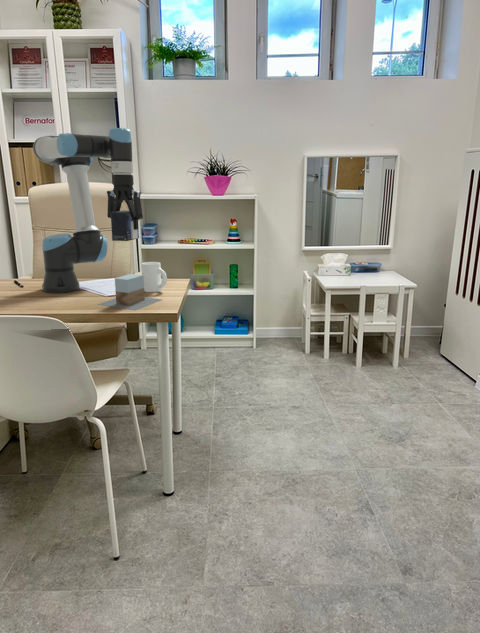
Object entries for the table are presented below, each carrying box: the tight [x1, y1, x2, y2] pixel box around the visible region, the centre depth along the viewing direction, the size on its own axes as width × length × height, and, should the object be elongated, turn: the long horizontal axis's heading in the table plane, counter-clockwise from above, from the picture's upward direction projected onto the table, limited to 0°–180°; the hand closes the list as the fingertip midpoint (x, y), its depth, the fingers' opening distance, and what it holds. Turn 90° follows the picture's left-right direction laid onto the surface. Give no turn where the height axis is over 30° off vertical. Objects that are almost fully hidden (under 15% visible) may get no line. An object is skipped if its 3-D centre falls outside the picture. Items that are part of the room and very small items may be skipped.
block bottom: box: [115, 288, 146, 306], centre depth 186 cm, size 6×10×5 cm, turn 155°
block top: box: [114, 273, 144, 293], centre depth 185 cm, size 6×10×5 cm, turn 155°
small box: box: [110, 210, 140, 242], centre depth 178 cm, size 11×6×10 cm, turn 167°
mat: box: [97, 296, 164, 311], centre depth 187 cm, size 18×18×1 cm
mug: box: [141, 261, 168, 293], centre depth 205 cm, size 8×12×12 cm
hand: (126, 237), depth 180 cm, fingers closed on small box, 7 cm apart
